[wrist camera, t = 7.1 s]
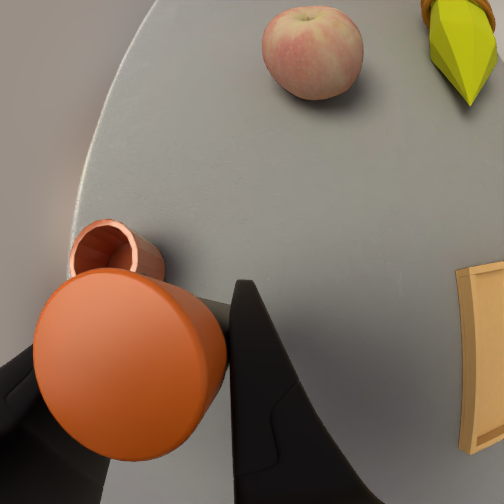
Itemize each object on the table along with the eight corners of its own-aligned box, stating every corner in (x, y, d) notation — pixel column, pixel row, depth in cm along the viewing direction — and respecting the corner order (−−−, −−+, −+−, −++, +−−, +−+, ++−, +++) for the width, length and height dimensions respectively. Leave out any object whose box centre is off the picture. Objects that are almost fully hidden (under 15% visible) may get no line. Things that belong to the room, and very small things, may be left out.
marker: (254, 352, 15) (220, 469, 3) (201, 356, 15) (48, 448, 3) (248, 299, 15) (196, 256, 4) (196, 304, 15) (26, 274, 4)
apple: (331, 50, 25) (344, -12, 18) (367, 108, 24) (395, 45, 16) (252, 63, 25) (248, -4, 17) (280, 126, 24) (284, 56, 16)
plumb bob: (495, 141, 24) (472, 2, 25) (530, 97, 15) (481, -41, 16) (417, 118, 27) (414, -14, 28) (433, 62, 18) (415, -60, 19)
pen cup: (167, 302, 22) (139, 298, 16) (107, 305, 22) (69, 302, 17) (164, 235, 23) (138, 214, 17) (106, 242, 23) (70, 224, 18)
